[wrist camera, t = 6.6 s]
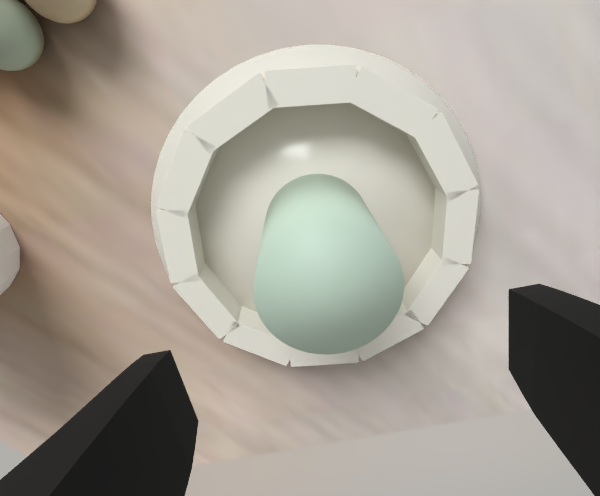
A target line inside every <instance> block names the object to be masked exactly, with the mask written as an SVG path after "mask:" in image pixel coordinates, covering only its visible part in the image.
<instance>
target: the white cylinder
mask: <svg viewBox="0 0 600 496" xmlns="http://www.w3.org/2000/svg"><path fill="white" fill-rule="evenodd" d="M19 269H20V246H19V244H18V242H17V239H16V237H15V235H14V232H13V230H12V228H11V225H10V224H9V223H8V222H7V221H6V219H5V218H4V217H3V216H2V215H1V214H0V295H1V294H2V293H3V292H4V291H5V290H6V289H7V288H8V287H10V285H11V284H12V282H13V280H14V278H15V277H16V275H17V273H18V271H19Z"/></svg>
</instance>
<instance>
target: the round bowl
mask: <svg viewBox="0 0 600 496" xmlns="http://www.w3.org/2000/svg"><path fill="white" fill-rule="evenodd" d="M309 174H327V175H332V176H335V177H338V178H340V179H342V180H344V181H346V182H347V183H348V184H350V185H351V186H352V187H353V188H354V189H355V190H356V191H357V192H358V193H359V194H360V196H361V198H362V199H363V201H364V203H365V204H366V206H367V208H368V209H369V211H370V213H371V214H372V216H373V217H374V219H375V221H376V222H377V224H378V226H379V227H380V229H381V231H382V232H383V234H384V236H385V237H386V239H387V241H388V242H389V244H390V246H391V247H392V249H393V251H394V252H395V254H396V256H397V257H398V259H399V262H400V264H401V267H402V271H403V275H404V294H403V300H402V303H401V306H400V309H399V311H398V313H397V315H396V317H395V318H394V320H393V321H392V323H391V324H390V325H389V326H388V327H387V329H386V330H385V331H384V332H383V333H382V334H380V335H379V336H378V337H377V338H375V339H374V340H373V341H371V342H370V343H368V344H366V345H364V346H362V347H360V348H357V349H355V350H352V351H348V352H345V353H339V354H328V355H324V354H313V353H307V352H304V351H300V350H297V349H295V348H292V347H290V346H288V345H286V344H285V343H283V342H281V341H280V340H279V339H277V338H276V337H275V336H274V335H273V334H272V333H271V332H270V331H269V330H268V329H267V328H266V327H265V325H264V324H263V322H262V321H261V319H260V317H259V315H258V313H257V311H256V307H255V304H254V299H253V281H254V276H255V270H256V265H257V260H258V255H259V250H260V245H261V239H262V234H263V229H264V224H265V219H266V214H267V210H268V207H269V204H270V202H271V200H272V199H273V197H274V196H275V194H276V193H277V192H278V191H279V190H280V189H281V188H282V187H283V186H284V185H285V184H287V183H288V182H290V181H292V180H294V179H296V178H298V177H301V176H304V175H309ZM480 203H481V192H480V181H479V173H478V169H477V164H476V160H475V156H474V152H473V150H472V147H471V145H470V142H469V140H468V137H467V135H466V133H465V131H464V129H463V127H462V126H461V124H460V122H459V121H458V119H457V117H456V115H455V114H454V112H453V111H452V110H451V109H450V107H449V106H448V105H447V104H446V102H445V101H444V100H443V99H442V98H441V96H440V95H439V94H438V93H437V92H435V91H434V90H433V89H432V88H431V87H430V86H429V85H428V84H427V83H426V82H425V81H424V80H422V79H421V78H419V77H418V76H416V75H415V74H414V73H412V72H411V71H409V70H408V69H406V68H405V67H403V66H401V65H399V64H397V63H395V62H393V61H391V60H389V59H387V58H384V57H382V56H380V55H377V54H373V53H370V52H367V51H364V50H360V49H357V48H350V47H344V46H337V45H302V46H295V47H288V48H282V49H278V50H275V51H272V52H268V53H265V54H262V55H258V56H256V57H254V58H252V59H250V60H247V61H245V62H243V63H241V64H239V65H237V66H235V67H233V68H232V69H230V70H229V71H227V72H226V73H224V74H222V75H221V76H219V77H218V78H216V79H215V80H214V81H213V82H211V83H210V84H209V85H208V86H207V87H206V88H205V89H203V90H202V91H201V92H200V93H199V94H198V95H197V96H196V97H195V98H194V99H193V100H192V102H191V103H190V104H189V105H188V106H187V108H186V109H185V110H184V111H183V112H182V113H181V115H180V117H179V118H178V120H177V121H176V123H175V125H174V126H173V128H172V129H171V131H170V133H169V135H168V137H167V139H166V141H165V144H164V146H163V148H162V150H161V153H160V156H159V159H158V163H157V166H156V170H155V173H154V179H153V187H152V194H151V218H152V224H153V231H154V238H155V241H156V245H157V248H158V252H159V255H160V258H161V260H162V262H163V265H164V267H165V269H166V272H167V274H168V276H169V278H170V283H173V284H174V286H173V288H174V289H175V290H176V292H177V293H178V294H179V295H180V296H181V297H182V298H183V299H184V301H185V302H186V303H187V304H188V305H189V306H190V307H191V308H192V309H193V311H194V312H195V313H196V314H197V315H198V316H199V317H200V318H201V319H202V321H203V322H204V323H205V324H206V325H207V326H208V327H209V328H210V330H211V331H212V332H213V333H214V334H215V335H216V336H217V337H218V338H219V339H220V338H222V337H223V336H224V340H223V342H225V343H228V344H230V345H233V346H235V347H238V348H240V349H243V350H246V351H248V352H251V353H253V354H256V355H258V356H261V357H264V358H266V359H269V360H271V361H274V362H277V363H279V364H282V365H284V366H287V364H288V362H289V361H290V363H291V367H298V366H314V365H330V364H346V363H359V356H360V358H361V359H362V360H363V361H365V360H367V359H369V358H371V357H372V356H374V355H376V354H378V353H380V352H382V351H384V350H386V349H387V348H389V347H391V346H393V345H395V344H397V343H399V342H401V341H402V340H404V339H406V338H408V337H410V336H412V335H414V334H416V333H417V332H419V331H421V330H423V329H424V328H423V326H422V324H421V323H423V324H425V325H427V326H428V325H429V323H430V322H431V321H432V319H433V318H434V316H435V315H436V314H437V312H438V311H439V309H440V308H441V307H442V305H443V304H444V303H445V301H446V300H447V298H448V297H449V296H450V294H451V293H452V291H453V290H454V289H455V287H456V286H457V284H458V283H459V282H460V280H461V279H462V277H463V276H464V275H465V273H466V272H467V271H468V269H469V268H468V266H467V265H466V264H471V259H472V250H473V245H474V241H475V238H476V235H477V229H478V224H479V218H480Z"/></svg>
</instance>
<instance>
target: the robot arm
mask: <svg viewBox="0 0 600 496" xmlns="http://www.w3.org/2000/svg"><path fill="white" fill-rule="evenodd" d="M509 370H510V372H511V374H512V376H513V378H514V379H515V381H516V383H517V385H518V387H519V388H520V390H521V392H522V394H523V396H524V397H525V399H526V401H527V402H528V404H529V406H530V407H531V409H532V411H533V412H534V414H535V415H536V417H537V418H538V420H539V421H540V422H541V424H542V425H543V426H544V428H545V429H546V431H547V432H548V433H549V435H550V436H551V437H552V439H553V440H554V442H555V443H556V444H557V446H558V447H559V448H560V450H561V451H562V452H563V454H564V455H565V456H566V458H567V459H568V460H569V462H570V463H571V464H572V466H573V467H574V468H575V470H576V471H577V472H578V474H579V475H580V476H581V478H582V479H583V481H584V482H585V483H586V485H587V486H588V487H589V489H590V490H591V491H592V493H593V494H594V495H595V496H600V305H598V304H596V303H593V302H590V301H588V300H585V299H582V298H580V297H577V296H574V295H571V294H569V293H566V292H563V291H560V290H557V289H554V288H551V287H548V286H545V285H541V284H536V285H530V286H525V287H519V288H514V289H509ZM197 427H198V419H197V417H196V414H195V412H194V409H193V406H192V404H191V401H190V399H189V396H188V394H187V391H186V389H185V386H184V384H183V381H182V379H181V376H180V373H179V371H178V368H177V366H176V363H175V361H174V358H173V356H172V353H171V351H170V350H168V351H163V352H157V353H152V354H146V355H143V356H141V357H140V358H139V359H138V360H136V361H135V362H134V363H133V364H131V365H130V366H129V367H128V368H127V369H125V370H124V371H123V372H122V373H121V374H120V375H119V376H118V377H116V378H115V379H114V380H113V381H112V382H111V383H110V384H109V385H108V386H106V387H105V388H104V389H103V390H102V391H101V392H100V393H99V394H98V395H97V396H96V397H94V398H93V399H92V400H91V401H90V402H89V403H88V404H87V405H86V406H85V407H83V408H82V409H81V410H80V411H79V412H78V413H77V414H76V415H75V416H73V417H72V418H71V419H70V420H69V421H68V422H67V423H66V424H65V425H64V426H62V427H61V428H60V429H59V430H58V431H57V432H56V433H55V434H53V435H52V436H51V437H50V438H49V439H48V440H46V441H45V442H44V443H43V444H42V445H41V446H39V447H38V448H37V449H36V450H35V451H34V452H32V453H31V454H30V455H29V456H28V457H27V458H25V459H24V460H23V461H22V462H21V463H20V464H19V465H17V466H16V467H15V468H14V469H13V470H11V471H10V472H9V473H8V474H7V475H6V476H4V477H3V478H2V479H1V480H0V496H185V492H186V488H187V485H188V481H189V477H190V473H191V469H192V463H193V456H194V450H195V443H196V435H197Z"/></svg>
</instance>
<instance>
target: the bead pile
mask: <svg viewBox="0 0 600 496" xmlns="http://www.w3.org/2000/svg"><path fill="white" fill-rule="evenodd" d="M25 1H26V2H27V4H28V5H29V6H30V7H31V8H32V9H33V10H34V11H36V12H37V13H39V14H40V15H41V16H43V17H45V18H47V19H49V20H52V21H55V22H58V23H68V24H70V23H76V22H79V21H81V20H83V19H85V18H86V17H88V16H89V15H90V14H91V12H92V11H93V10H94V8H95V5H96V2H97V0H25ZM43 48H44V36H43V32H42V29H41V26H40V24H39V22H38V20H37V19H36V17H35V16H34V15H33V13H32V12H31V11H30V10H29V9H28V8H27V7H26V6H25V5H24V4H22V3H21V2H20V1H18V0H0V69H1V70H7V71H18V70H23V69H26V68H28V67H30V66H32V65H33V64H35V63H36V62H37V61H38V59H39V58H40V56H41V54H42V52H43Z"/></svg>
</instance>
